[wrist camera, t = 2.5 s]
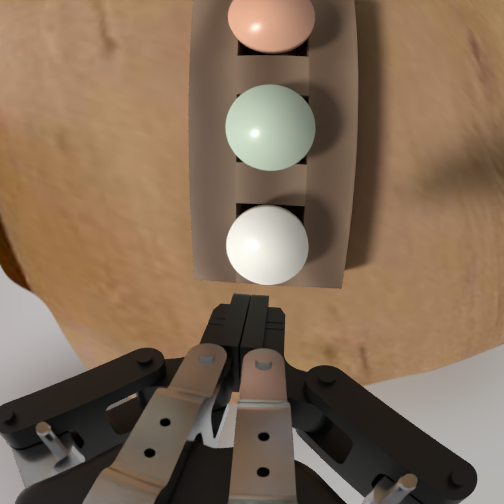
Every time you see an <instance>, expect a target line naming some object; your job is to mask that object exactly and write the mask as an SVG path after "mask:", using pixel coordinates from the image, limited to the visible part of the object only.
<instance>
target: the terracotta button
mask: <svg viewBox="0 0 504 504" xmlns="http://www.w3.org/2000/svg"><path fill="white" fill-rule="evenodd" d="M228 22H229V25H230V28H231V30H232V32H233V33H234V35H235V37H236V38H237V39H238V40H239V41H240V42H241V43H242V44H243V45H245V46H246V47H248V48H250V49H252V50H255V51H258V52H261V53H263V54H267V55H281V54H285V53H288V52H290V51H292V50H293V49H295V48H297V47H298V46H300V45H301V44H303V43H304V42H305V41H306V40H307V39H308V38H309V36H310V34H311V33H312V30H313V27H314V23H315V11H314V8H313V5H312V3H311V2H310V0H233V1H232V3H231V5H230V7H229V11H228Z"/></svg>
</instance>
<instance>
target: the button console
mask: <svg viewBox="0 0 504 504" xmlns="http://www.w3.org/2000/svg"><path fill="white" fill-rule="evenodd" d="M232 1H233V0H193V11H192V27H191V45H190V71H189V181H190V209H191V230H192V248H193V263H194V277H195V280H207V281H220V282H234V283H249V284H257V283H254V282H251V281H249V280H247V279H246V278H244V277H243V276H241V275H240V274H239V273H238V272H237V271H236V270H235V269H234V267H233V266H232V264H231V262H230V261H229V258H228V255H227V250H226V241H227V236H228V233H229V230H230V228H231V226H232V225H233V223H234V222H235V220H236V219H237V218H238V217H239V216H240V215H241V214H242V203H249V204H273V205H293V206H302V222H301V223H302V224H303V226H304V228H305V230H306V234H307V238H308V245H309V249H308V256H307V259H306V262H305V264H304V266H303V267H302V269H301V270H300V271H299V272H298V273H297V274H296V275H295V276H294V277H292V278H291V279H289V280H287V281H285V282H283V283H279V284H274V285H281V286H299V287H318V288H340V289H342V282H343V276H344V269H345V262H346V255H347V248H348V240H349V232H350V223H351V214H352V204H353V193H354V181H355V167H356V151H357V129H358V50H357V29H356V15H355V3H354V0H310V2H311V3H312V5H313V8H314V11H315V23H314V27H313V30H312V33H311V34H310V36H309V38H308V39H307V40H306V57H304V56H282V55H245V56H244V45H243V44H242V43H241V42H240V41H239V40H238V39H237V38H236V37H235V35H234V33H233V32H232V30H231V28H230V25H229V22H228V11H229V7H230V5H231V3H232ZM269 84H272V85H280V86H284V87H287V88H289V89H291V90H293V91H295V92H296V93H298V94H299V95H300V96H301V97H302V98H303V99H304V100H305V101H306V102H307V103H308V105H309V107H310V108H311V110H312V112H313V116H314V119H315V129H316V130H315V137H314V141H313V143H312V146H311V148H310V150H309V151H308V152H307V154H306V155H305V162H303V161H299V162H297V163H296V164H294V165H292V166H290V167H288V168H285V169H282V170H276V171H266V170H260V169H257V168H254V167H251V166H249V165H248V164H246V163H244V162H243V161H242V160H241V159H239V158H238V157H237V155H236V154H235V153H234V152H233V150H232V149H231V147H230V145H229V143H228V140H227V136H226V118H227V115H228V112H229V109H230V108H231V106H232V104H233V103H234V101H235V100H236V99H237V98H238V97H239V96H240V95H241V94H243V93H244V92H246V91H247V90H249V89H251V88H253V87H257V86H260V85H269Z"/></svg>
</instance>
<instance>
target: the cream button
mask: <svg viewBox="0 0 504 504" xmlns="http://www.w3.org/2000/svg"><path fill="white" fill-rule="evenodd" d="M308 249H309V245H308V238H307V234H306V230H305V228H304V226H303V224H302V223H301V221H300V220H299V219H298V218H297V217H296V216H295V215H294V214H293V213H291V212H290V211H288V210H286V209H284V208H282V207H279V206H275V205H260V206H256V207H253V208H250V209H248V210H246V211H245V212H243V213H242V214H241V215H240V216H239V217H238V218H237V219H236V220H235V222H234V223H233V225H232V226H231V228H230V230H229V233H228V236H227V241H226V250H227V255H228V258H229V261H230V262H231V264H232V266H233V267H234V269H235V270H236V271H237V272H238V273H239V274H240V275H241V276H243V277H244V278H246V279H247V280H249V281H251V282H254V283H257V284H263V285H274V284H279V283H283V282H285V281H287V280H289V279H291V278H292V277H294V276H295V275H296V274H297V273H298V272H299V271H300V270H301V269H302V267H303V266H304V264H305V262H306V259H307V256H308Z"/></svg>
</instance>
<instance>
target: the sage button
mask: <svg viewBox="0 0 504 504" xmlns="http://www.w3.org/2000/svg"><path fill="white" fill-rule="evenodd" d="M315 130H316V129H315V119H314V116H313V112H312V110H311V108H310V107H309V105H308V103H307V102H306V101H305V100H304V99H303V98H302V97H301V96H300V95H299V94H298V93H296V92H295V91H293V90H291V89H289V88H287V87H284V86H280V85H272V84H269V85H260V86H257V87H253V88H251V89H249V90H247V91H246V92H244V93H243V94H241V95H240V96H239V97H238V98H237V99H236V100H235V101H234V103H233V104H232V106H231V108H230V109H229V112H228V115H227V118H226V136H227V140H228V143H229V145H230V147H231V149H232V150H233V152H234V153H235V154H236V155H237V157H238V158H239V159H241V160H242V161H243V162H244V163H246V164H248V165H249V166H251V167H254V168H257V169H260V170H266V171H276V170H282V169H285V168H288V167H290V166H292V165H294V164H296V163H297V162H299V161H300V160H301V159H302V158H303V157H304V156H305V155H306V154H307V152H308V151H309V150H310V148H311V146H312V143H313V141H314V137H315Z"/></svg>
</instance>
